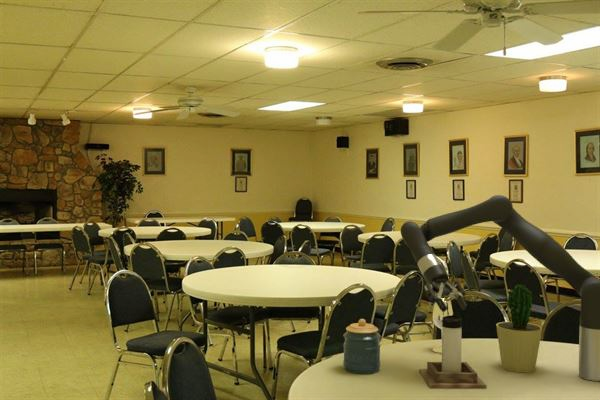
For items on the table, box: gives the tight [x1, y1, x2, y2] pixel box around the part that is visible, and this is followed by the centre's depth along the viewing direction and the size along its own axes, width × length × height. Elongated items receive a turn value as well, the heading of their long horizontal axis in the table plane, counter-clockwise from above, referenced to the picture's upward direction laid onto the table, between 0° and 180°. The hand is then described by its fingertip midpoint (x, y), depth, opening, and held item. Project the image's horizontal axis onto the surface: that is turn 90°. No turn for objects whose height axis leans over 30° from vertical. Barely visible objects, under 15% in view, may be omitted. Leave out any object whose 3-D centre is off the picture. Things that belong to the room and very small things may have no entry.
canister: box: [342, 318, 381, 375], centre depth 222 cm, size 13×13×18 cm
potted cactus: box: [495, 284, 543, 373], centre depth 225 cm, size 15×15×30 cm
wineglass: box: [432, 298, 454, 354], centre depth 247 cm, size 8×8×20 cm
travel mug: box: [441, 314, 463, 373], centre depth 210 cm, size 6×7×20 cm
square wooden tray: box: [418, 361, 488, 389], centre depth 210 cm, size 18×18×4 cm
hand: (455, 309), depth 209 cm, fingers open, 8 cm apart
